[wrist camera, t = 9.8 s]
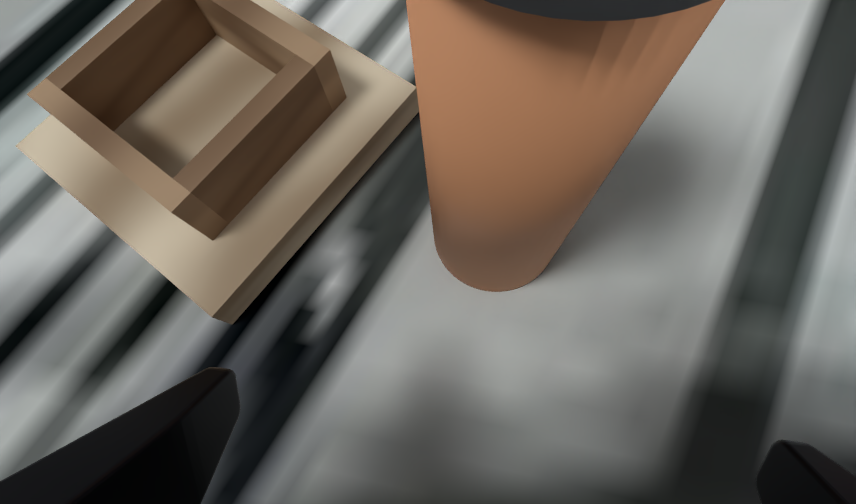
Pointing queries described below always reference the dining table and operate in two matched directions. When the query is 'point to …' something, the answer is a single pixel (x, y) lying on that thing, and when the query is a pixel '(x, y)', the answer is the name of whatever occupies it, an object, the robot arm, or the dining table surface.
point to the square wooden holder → (215, 136)
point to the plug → (533, 116)
